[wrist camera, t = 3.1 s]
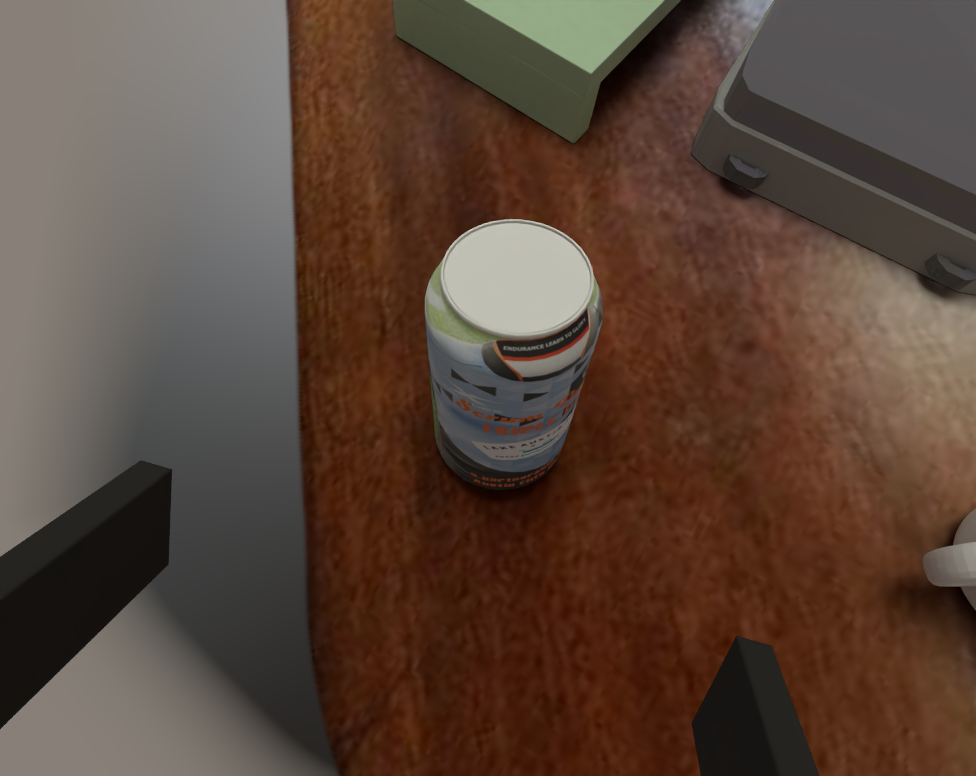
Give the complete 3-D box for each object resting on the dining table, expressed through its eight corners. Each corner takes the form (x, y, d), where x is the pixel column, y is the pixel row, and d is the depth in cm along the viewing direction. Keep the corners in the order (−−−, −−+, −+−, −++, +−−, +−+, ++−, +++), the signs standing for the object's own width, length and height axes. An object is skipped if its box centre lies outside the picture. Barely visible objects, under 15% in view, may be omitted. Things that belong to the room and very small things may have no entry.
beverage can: (454, 513, 28) (455, 428, 17) (414, 371, 31) (394, 217, 20) (582, 476, 29) (662, 373, 18) (533, 342, 32) (577, 180, 21)
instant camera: (1090, 132, 40) (1432, -142, 26) (962, 345, 33) (1331, 130, 19) (805, -24, 44) (966, -328, 30) (642, 136, 37) (752, -161, 24)
